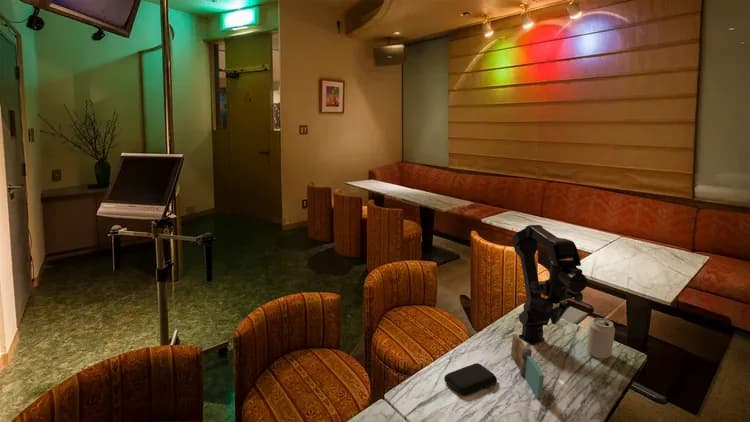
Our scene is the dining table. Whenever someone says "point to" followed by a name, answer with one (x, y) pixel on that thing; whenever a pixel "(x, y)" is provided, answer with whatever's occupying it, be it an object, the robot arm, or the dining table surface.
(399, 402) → the dining table surface
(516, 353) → the fixed leaf
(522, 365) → the hinge leaf
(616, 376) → the dining table surface
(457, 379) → the carrying case or bag
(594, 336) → the can
